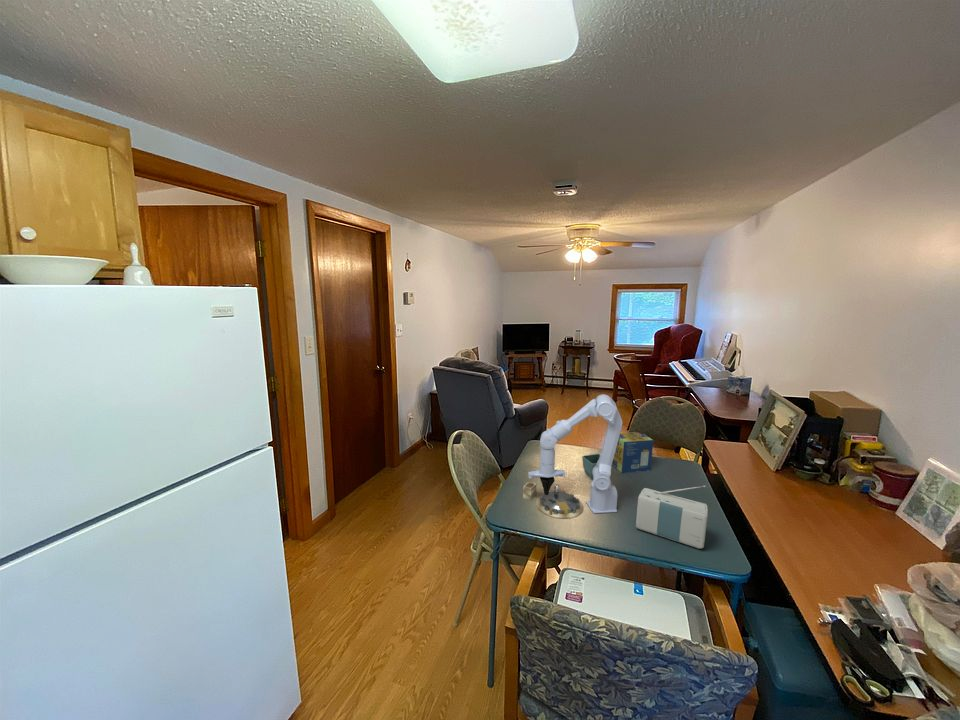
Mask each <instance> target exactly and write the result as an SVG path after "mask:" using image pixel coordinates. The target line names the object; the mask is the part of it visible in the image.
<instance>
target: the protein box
mask: <svg viewBox="0 0 960 720" xmlns="http://www.w3.org/2000/svg"><path fill="white" fill-rule="evenodd" d="M653 447H654V439H652V438H651V437H649V436H648V435H646V434H645V433H643V432H641V431H634V432H633V431H632V432H620V436H619V439H618V443H617V447H616V451H615V454H614V458H613V462H612V466H613V468H615V469H616V470H617V471H618V472H619V473H620V474H625V473H627V472H629V473H637V472H636V471H641V472H648V471H647V470H650V471H651V470H652V469H651V468H652V457H653V449H654V448H653Z"/></svg>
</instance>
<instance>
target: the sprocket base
mask: <svg viewBox="0 0 960 720" xmlns="http://www.w3.org/2000/svg"><path fill="white" fill-rule="evenodd" d="M541 495H542V496H543V495H544V493H543V494H541ZM541 495H539V496H538V497H537V498H536V500H535V501H536V502H535V503H536V504H535V505H536V508H537V509H538V510H539V512H540V513H543V514H544V515H545V516H548V517H551V518H555V519H559V520H569V519H573V518H577V517H579V516H581V514H583V512H584V504H583V503H582V501H581V500H580V499H579V504H580V508H579V509H576V513H572V512H571V513H568V515H564V514H559V513H557V514H553V512H552V509H550V510H548V511H546V510H544V506H541V505H540V496H541ZM574 497H575V496H574ZM575 498H577V497H575Z"/></svg>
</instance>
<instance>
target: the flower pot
mask: <svg viewBox="0 0 960 720" xmlns="http://www.w3.org/2000/svg"><path fill="white" fill-rule="evenodd" d="M600 454H601V453H594V454H585V455H582V456H581V457H582V466H583V470H584V472H585V474H586V476H588V477H589V479H591V480H592V481H593V474H592V470H593V468H594V467H595V466H596V465H597V461H598V460H599V457H600Z"/></svg>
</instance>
